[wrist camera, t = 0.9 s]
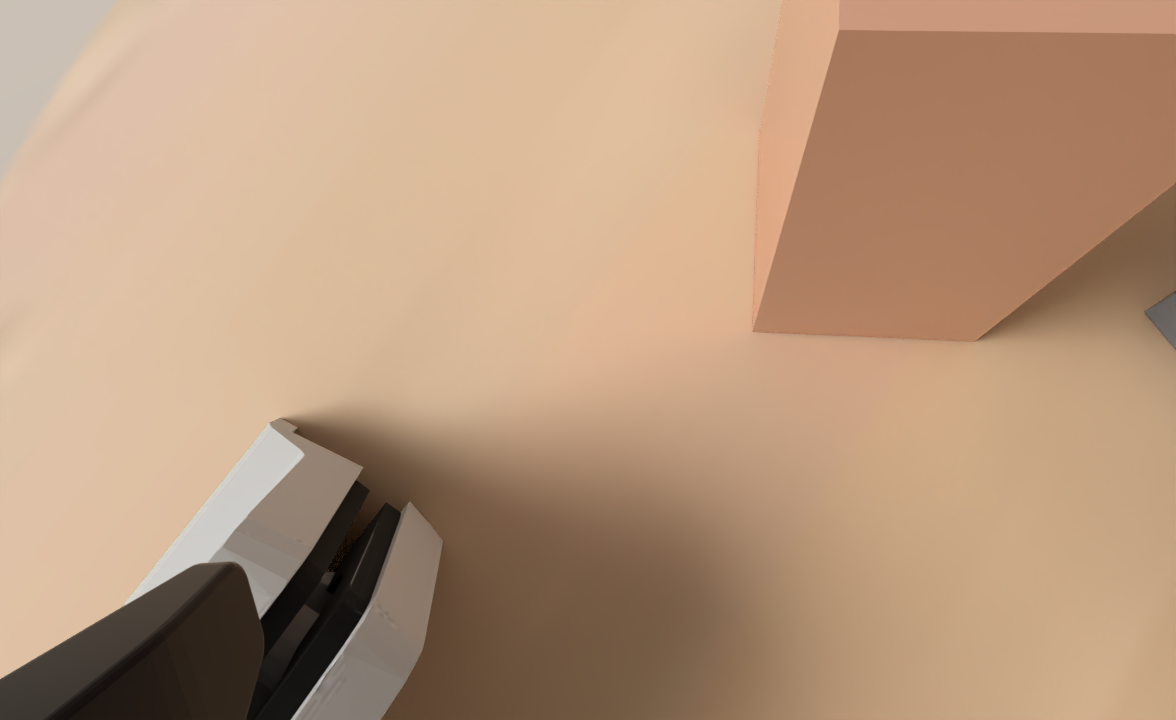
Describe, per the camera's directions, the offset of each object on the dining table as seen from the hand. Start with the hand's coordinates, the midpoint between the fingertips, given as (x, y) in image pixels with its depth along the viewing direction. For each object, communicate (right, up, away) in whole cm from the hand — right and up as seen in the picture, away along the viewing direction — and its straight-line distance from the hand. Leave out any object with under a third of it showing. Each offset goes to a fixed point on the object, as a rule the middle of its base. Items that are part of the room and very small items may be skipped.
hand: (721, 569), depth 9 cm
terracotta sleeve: (+5, +5, +14) cm, 16 cm away
